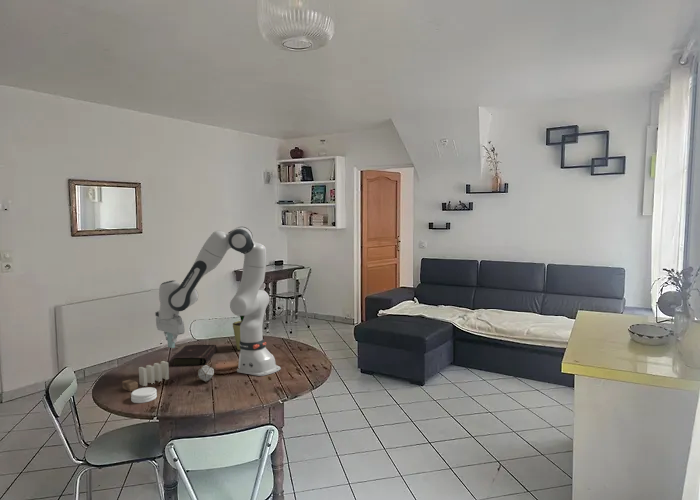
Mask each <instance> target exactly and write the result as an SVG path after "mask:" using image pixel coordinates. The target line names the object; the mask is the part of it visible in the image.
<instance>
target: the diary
mask: <svg viewBox="0 0 700 500" xmlns="http://www.w3.org/2000/svg"><path fill="white" fill-rule="evenodd" d="M217 351H218V348H217V344H188V345H187V344H186V345H184V346H183V347H182V348H181V349H180V350H179V351H178V352H176V353H175V354H174V355H173V356H172V357H171V359H173V364H172V365H171V367H187V366H188V367H190V366H191V367H192V366H199V365H201V366H202V365H203V364H204V365H208V363H209V361H210V360H211V359H212V358H213V356H214V355H215V354H216V352H217Z"/></svg>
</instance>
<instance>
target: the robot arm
mask: <svg viewBox="0 0 700 500" xmlns="http://www.w3.org/2000/svg"><path fill="white" fill-rule="evenodd" d="M230 249H233V250H234V251H236V252H239V253H240V254H243V255H244V257H243V259H244V260H243V266H242V274H241V279H240V283H239V285H238V287H237V291H236V292H235V295H234V296H233V297H232V298H231V299H230V302H229V308H230V311H231V312H232V314H234V315H235V316H238V317H240V316H244V319H243V321H242V323H241V325H240V343H239V345H240V348H241V350H239V355H238V367H237V369H236V372H237V373H241V374H245V375H246V374H247V375H252V376H259V377H263V376H268V375H271V374H274V373H277V372H279V371H280V370H281V369H282V368H281V366H279V365H277V364H276V359H275V358H276V357H275V356H274V355H273V354H272V353H271V352H270V351H269V349H267V347H266V345H267V342H266V341H265V340H264V338H263V336H264V335H263V323H264V318H265V312H266V309H267V307H268V305H269V304H270V296H269V294H268V292H267V291H266V290H264V289H260V288H261V287H262V285H264V284H263V283H264V281H265V277H266V271H267V270H266V269H267V248H266V246H265V245H263V244H262V243H260V242H256V241H255V240H254V239H253V233H252V231H251V230H250V229H249V227H248V228H247V227H245V226H238V227H236V228H234V229H231V230H230V231H229V232H225V231H223V230H215V231H214V232H212V233H211V234H210V235H209V237H208V238H207V239H206V241H205V242H204V243H203V245H202V247H201V249H200V250H199V252H198V254H197V256H196V259H195V260H194V262H193V264H192V266H191V268H190V270H189V271H188V273H187V274H186V276H185V277H184V279H183V281H182V282H181V283H180V282H178V281H177V280H174V279H173V280H168V281H167V280H166V281H163V282H162V283H160V285H159V289H158V300H159V303H160V304H159V305H160V306H159V310H158V311H157V310H156V311H155V313H154V316H155V322H156V324H155V326H156V329H157V330H158V331H161V332H163V335H164V337H165V341H167V332H168V333H172V335H173V338H172V342H175V343H176V342H177V341H178V340H177V339H178V337H179V335H184V334H185V323H184V322H185V321H184V319H183V318H182V317H181V315H180V312H183V311H186V309H188V308H189V307H191V306H192V305H194V304H196V302H197V301H198V300H199V292H198V291H197V289H196V287H197V285H198V283H199V282H200V281H201V280H202V279H203V277H204V276H205V275H207V274H208V273H211V271H213V270H215V268H217V266H218V265H219V264H220V263H221V262H222V260H223V258H224V257H225V255H226V253H227V252H228V250H230ZM238 368H239V369H238Z"/></svg>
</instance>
